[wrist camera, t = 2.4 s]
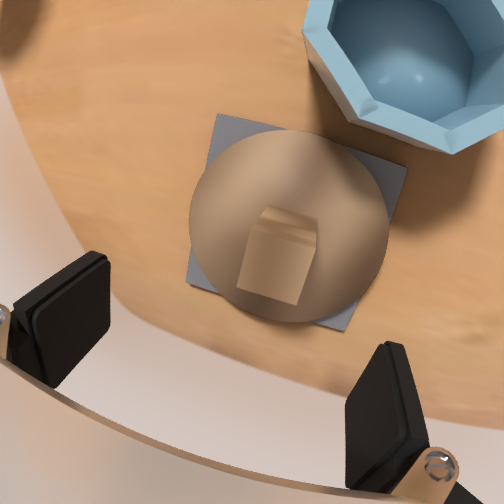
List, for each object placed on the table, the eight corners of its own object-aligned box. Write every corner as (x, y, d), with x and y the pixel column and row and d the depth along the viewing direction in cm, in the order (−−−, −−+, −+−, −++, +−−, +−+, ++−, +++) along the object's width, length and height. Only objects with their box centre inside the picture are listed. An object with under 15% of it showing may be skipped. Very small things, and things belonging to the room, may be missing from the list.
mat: (405, 167, 18) (408, 168, 17) (344, 326, 23) (344, 331, 22) (220, 114, 19) (217, 113, 19) (188, 278, 24) (185, 282, 23)
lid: (412, 166, 17) (447, 183, 12) (345, 333, 22) (348, 392, 17) (215, 109, 18) (173, 104, 13) (182, 283, 23) (144, 328, 18)
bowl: (487, 21, 12) (530, -2, 7) (459, 165, 17) (504, 181, 11) (332, -39, 14) (332, -87, 8) (295, 107, 18) (284, 97, 13)
